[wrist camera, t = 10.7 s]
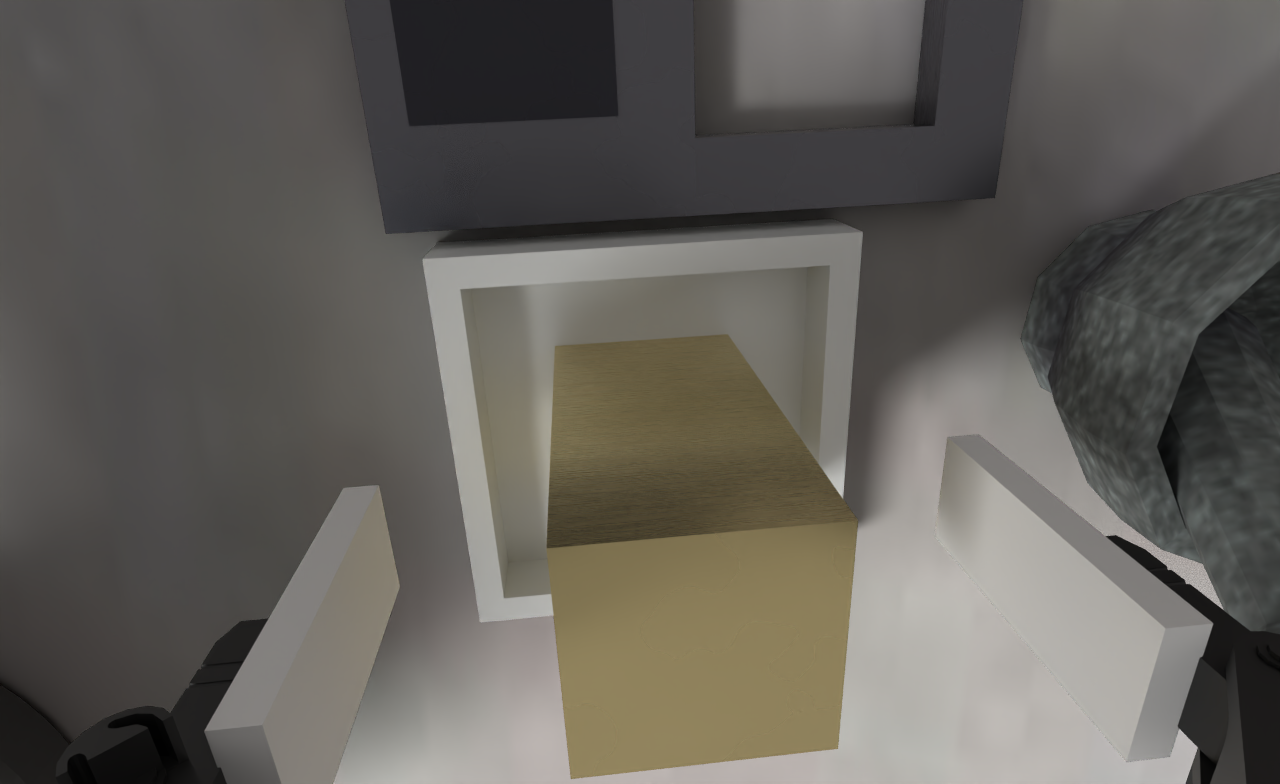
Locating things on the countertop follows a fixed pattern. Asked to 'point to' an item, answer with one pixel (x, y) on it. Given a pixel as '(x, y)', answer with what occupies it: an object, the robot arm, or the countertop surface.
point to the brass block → (690, 562)
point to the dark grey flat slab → (643, 117)
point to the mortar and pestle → (1177, 380)
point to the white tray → (613, 312)
